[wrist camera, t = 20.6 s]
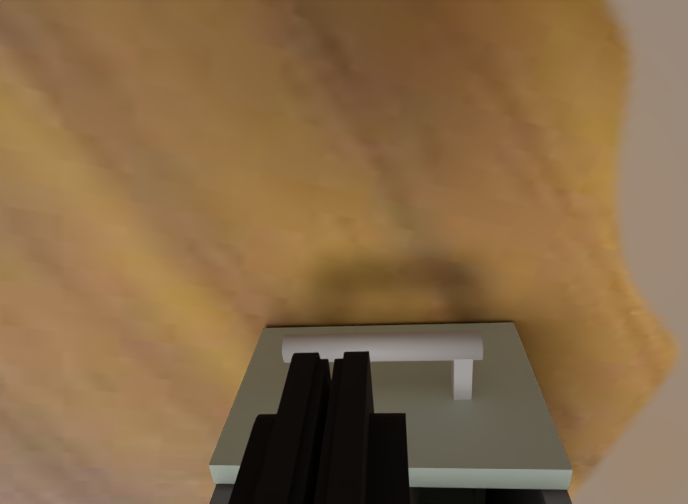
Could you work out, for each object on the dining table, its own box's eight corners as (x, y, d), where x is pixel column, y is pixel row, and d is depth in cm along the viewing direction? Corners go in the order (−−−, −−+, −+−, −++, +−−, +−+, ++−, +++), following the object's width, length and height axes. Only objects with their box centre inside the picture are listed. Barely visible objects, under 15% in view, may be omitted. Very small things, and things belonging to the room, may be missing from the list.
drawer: (254, 280, 33) (190, 406, 23) (518, 271, 31) (584, 405, 21) (293, 476, 42) (260, 632, 32) (500, 479, 40) (540, 647, 30)
